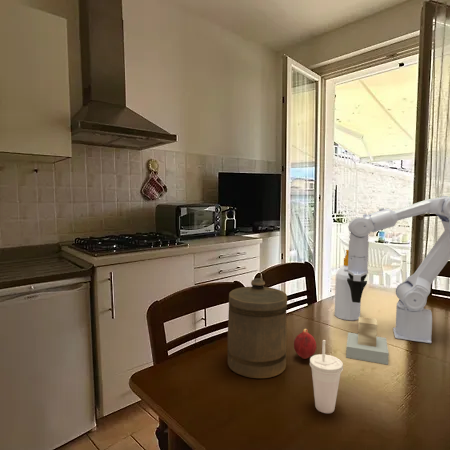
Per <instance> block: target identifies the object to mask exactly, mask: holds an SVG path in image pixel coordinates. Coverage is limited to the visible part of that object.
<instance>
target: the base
mask: <svg viewBox="0 0 450 450" xmlns="http://www.w3.org/2000/svg"><path fill="white" fill-rule="evenodd" d="M345 348H346V351H345V352H346V353H345V354H346V356H345V358H346V359H347V358H348V359H353V360H357V361H359V360H360V361H365V362H371V363H376V364H381V365H389V347H388V341H387V337H381V336H377V338H376V347H374V346H367V345H361V344H358V333H354V332H347V340H346V347H345Z"/></svg>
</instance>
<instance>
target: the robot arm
mask: <svg viewBox="0 0 450 450" xmlns="http://www.w3.org/2000/svg"><path fill="white" fill-rule="evenodd" d="M424 214H435V215H436V216H437V218H439V220H440V221H441V223H442V227H443V228H444V231H443V232H442V234H441V235H440V236H439V238H438V239H437V241H436V242H435V244H433V246H432V248H431V249H430V251H429V252H428V254H427V255H426V256H425V257H424V259H423V260H422V262H421V263H420V265H419V266H418V267H417V269H416V270H415V272H414V273H413V274H411V275H409V276H408V277H406V279H405V281H403V282H401V283H399V284H398V285H397V286H396V288H395V295H396V297H397V298H398V301H397V302H396V310H395V311H396V312H395V313H396V315H395V327H393V328H392V331H393V335H394V338H395V339H397V340H398V339H399V340H406V341H413V342H419V343H427V344H432V335H433V334H432V331H433V313H432V310H431V309H428V308H425V306H426V305H427V300H428V296H429V295H430V293H431V288H432V284H433V282H434V281H435V280H436V278H437V277H438V275H439V274H440V272H441V271H442V270H443V269H444V267H445V266H446V265H447V263H448V261H449V260H450V195H449V196H448V195H442V196H439V197H433V198H429V199H428V198H427V199H424V200H422V201H418V202H415V203H412V204H409V205H407V206H403V207H400V208H397V209H395V210H393V209H390V208H384V207H381V208H379V209H378V210H377V211H374V212H372V213H368V214H367V213H363V214H362V217H359V216H357V217H354V218H352V219H351V220H350V221H349V223H348V225H347V228H348V231H349V240H348V250H349V253H348V268H344V271H345V272H348V275H349V277H350V278H347V282H348V284H349V287H350V290H351V297H352V302H356V303H360V301H362V296H363V293H364V292H363V291H364V289H365V287H366V286H367V283H368V281H367V280H366V278H367V276H368V274H369V268H368V267H369V266H368V265H369V246H370V244H369V242H370V241H369V235H370V234H371V233H376V232H380V231H383V230H386V229H389V228H392V227H393V228H394V227H395V226H396V224H397V223H398V221H402V220H405V219H409V218H412V217H416V216H420V215H424Z"/></svg>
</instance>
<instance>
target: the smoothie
mask: <svg viewBox="0 0 450 450" xmlns="http://www.w3.org/2000/svg"><path fill="white" fill-rule="evenodd" d="M321 348H322V350H321V354H320V353H319V354H313V355H312V356H311V357H309V367H310V368H311V375H312V377H311V378H312V386H313V397H314V406H315V408H316V410H317V411H318V412H321V413H323V414H332V413H333V412H335V409H336V408H335V407H336V403H337V397H338V393H339V392H338V391H339V385H340V379H341V373H342V372H343V370H344V363H343V361H342V360H341V359H339V358H338V357H336V356H334V355H330V354H326V340H325V339H322V347H321Z"/></svg>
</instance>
